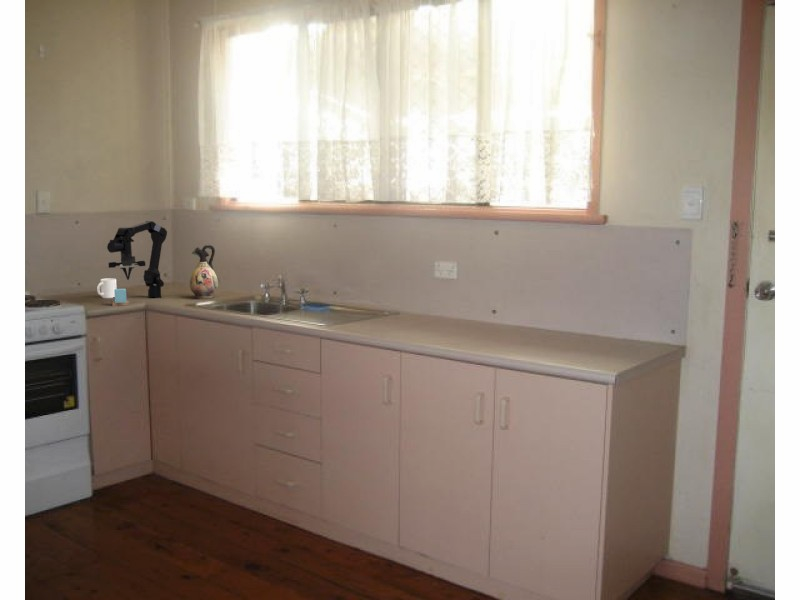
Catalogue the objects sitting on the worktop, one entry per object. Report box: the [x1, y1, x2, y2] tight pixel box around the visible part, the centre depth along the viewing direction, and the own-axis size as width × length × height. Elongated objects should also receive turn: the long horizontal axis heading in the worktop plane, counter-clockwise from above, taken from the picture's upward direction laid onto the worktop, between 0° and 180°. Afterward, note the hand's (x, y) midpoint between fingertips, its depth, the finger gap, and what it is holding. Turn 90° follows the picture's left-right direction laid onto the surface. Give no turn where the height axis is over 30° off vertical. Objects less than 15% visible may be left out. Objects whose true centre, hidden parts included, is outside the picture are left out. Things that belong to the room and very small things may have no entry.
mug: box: [96, 277, 118, 299], centre depth 446 cm, size 12×8×10 cm
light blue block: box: [114, 288, 127, 303], centre depth 421 cm, size 6×6×7 cm
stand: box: [112, 300, 130, 307], centre depth 421 cm, size 8×8×7 cm
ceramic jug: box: [189, 244, 219, 300], centre depth 446 cm, size 17×15×30 cm
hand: (128, 279), depth 430 cm, fingers closed
